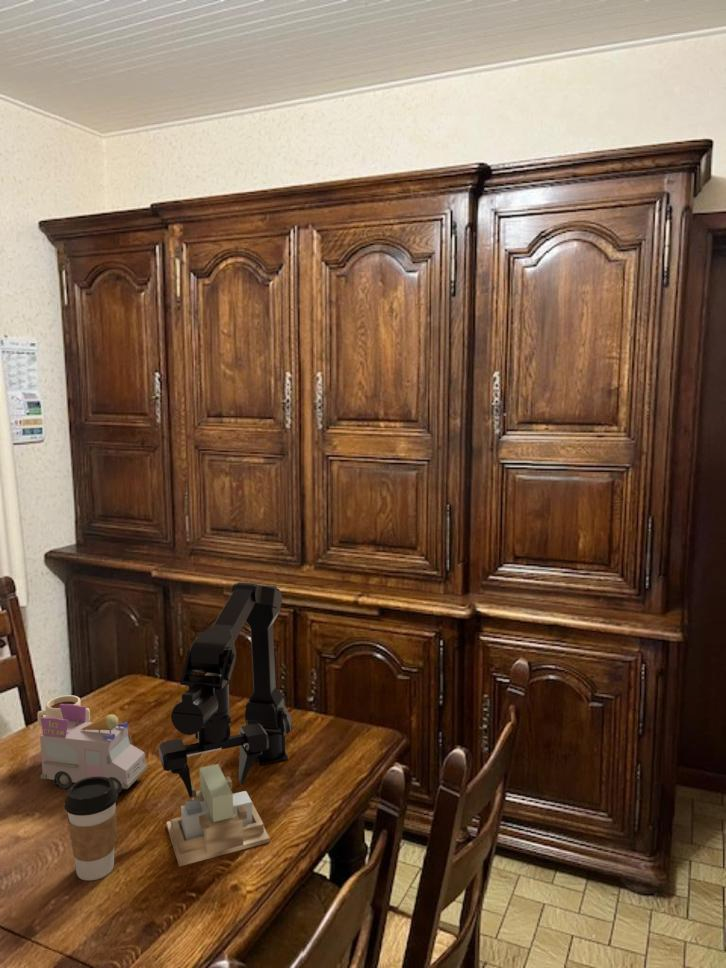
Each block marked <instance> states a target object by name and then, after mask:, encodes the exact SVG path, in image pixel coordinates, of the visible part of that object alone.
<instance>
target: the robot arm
mask: <svg viewBox="0 0 726 968" xmlns="http://www.w3.org/2000/svg"><path fill="white" fill-rule="evenodd" d="M280 590H281V589H279V588H278V586H276V585H271V584H270V585H268V584H258V583H256V582H240V581H239V582H236V583H234V584H233V585H232V588H231V594H230V596H229V598H228V599H227V601H226V602H225V604H224V606H223V608H222V610H221V611H220V613H219V615H218V616H217V619H216V620H215V622H214V624H213V625H212V626H211V627H210V628H208V629H206V630H204V631H202V632H201V633H200V634H199V635H198V636H197V637H196V638H195V640H194V641H193V642H192V643H191V645H190V646H189V648H188V651H187V654H186V659H185V663H184V667H183V671H182V675H181V679H180V686H188V690H186V691H184V692H183V693H182V694H181V700H180V701H179V702H178V703H177V704H176V705H174V707H173V708H172V711H171V714H170V716H171V717H170V718H171V723H172V725H173V726H174V728H175V730H177V731H178V732H179V733H181V734H182V735H186V736H191V735H192V736H193V735H194V738H195V739H196V740H197V742H196V743H190V744H184V742H183V740H182V738H177V739H172V740H167V741H163V742H161V743H160V744H159V746H158V756H159V760H160V763H161V765H162V769H163V771H165V772H171V774H178V775H179V778H180V779H181V780H182V782H183V783H184V786H185V789H186V792H187V794H189V795H188V797H189V799H192V798H191V797H192V786H191V785H192V781H191V773H190V767H189V764H188V758H189V757H192V756H196V755H197V756H198V755H201V754H206V753H207V754H208V753H212V752H217V751H220V750H225V749H229V748H235V747H239V749H238V750H239V763H238V783H239V785H240V786H241V787H242V786H243V785H244V782H245V781H246V778H247V776H248V774H249V772H250V769H252V768H251V767H252V766H253V764H254V763H255V761H256V762H257V763H258V765H260V766H263V765H268V764H272V763H276V762H282V761H286V760H288V759H289V756H288V754H287V752H286V735H287V734H289V733H291V732H292V726H291V725H292V715H291V714H290V713H289V711H288V710H287V708H286V707H285V699H284V696H283V695H282V693H281V692H280V690H279V689H278V687H277V686H276V684H277V683H276V665H275V664H276V663H275V661H276V660H275V643H274V642H275V641H274V640H275V638H274V635H275V634H274V622H275V620H277V618H278V615H279V614H280V612H281V607H282V603H283V594H282V592H281V591H280ZM245 624H247V625H248V627H249V629H250V642H251V643H250V645H251V646H250V647H251V663H252V664H251V666H252V683H253V686H252V687H253V692H252V694H251V696H250V698H249V699H248V700H247V702H246V704H245V710H244V722H245V725H242V726H240V727H239V733H238V734H233V735H231V724H232V720H231V718H232V717H231V712H230V711H231V710H230V706H231V705H230V681H231V678H232V675H233V671H234V667H235V664H236V660H237V651H236V647H235V643H236V641H237V638H238V637H239V635H240V633H241V631H242V630H243V628H244V625H245ZM193 672H195V673H197V672H198V673H205V674H204V675H203V674H194V673H193Z"/></svg>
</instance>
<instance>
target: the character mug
mask: <svg viewBox="0 0 726 968" xmlns="http://www.w3.org/2000/svg"><path fill="white" fill-rule="evenodd" d="M81 703H82V702H81V698H80V697H79V696H76V695H73V694H72V695H71V694H70V695H68V694H65V695H60V696H57V697H53V698H51V699H50V700H48V701H47V702H46V703H45V710H39V711H37V725H38V726H42V723H41V718H42V717H43V716H45V718H59V719H63V716H62V712H61V708H60V704H64V705H67V704H73V705H79V706H82V704H81ZM63 720H64V719H63ZM86 722H91V710H90V708H89V707H86Z"/></svg>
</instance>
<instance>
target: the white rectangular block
mask: <svg viewBox="0 0 726 968" xmlns="http://www.w3.org/2000/svg"><path fill="white" fill-rule="evenodd" d="M252 803H253V800H251V797H250V796H249V794H248V792H247V790H244V791H238V792H235V793H233V815H235V814H237V807H238V806H242V805H244V807H245V809H246V811H247V819H243V826H245V825H249V824H252ZM180 812H181V814H180V815H181V816H180V817H182V833H183V836H184V839H185V841H186V840H190V839H194V838H198V837H202V836H204V829H203V830H202V829H201V826H200V824H199V816H201V815H205V814H206V815H207V818H208V820H209V821H211V820H212V817H211V815H210V813H209V810H208V808H207V805H206V803H205V801H201V802H199V799H196V800H192V799H191V800H188V801H184V805H181V806H180Z"/></svg>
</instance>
